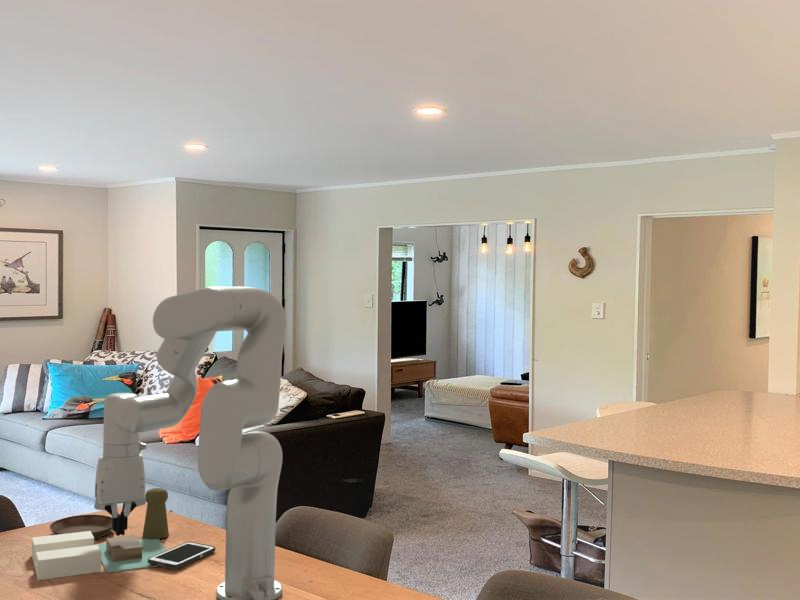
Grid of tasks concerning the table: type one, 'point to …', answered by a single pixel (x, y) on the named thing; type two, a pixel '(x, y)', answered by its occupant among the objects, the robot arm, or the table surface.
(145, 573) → the table surface
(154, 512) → the pepper mill
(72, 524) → the saucer
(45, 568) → the slotted block
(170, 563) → the cell phone
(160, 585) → the table surface
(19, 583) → the table surface
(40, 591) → the table surface
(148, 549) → the mat
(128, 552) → the brown flat block
